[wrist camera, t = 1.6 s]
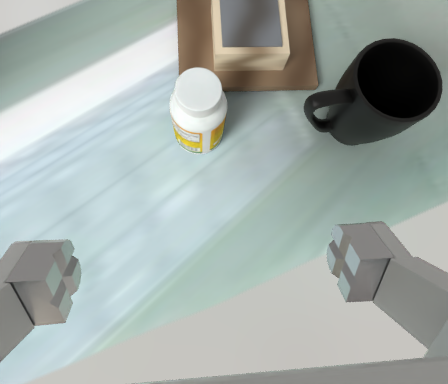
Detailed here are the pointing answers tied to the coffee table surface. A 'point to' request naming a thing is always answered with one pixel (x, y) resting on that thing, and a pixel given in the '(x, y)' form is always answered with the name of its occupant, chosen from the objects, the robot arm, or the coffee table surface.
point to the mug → (379, 93)
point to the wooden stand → (249, 43)
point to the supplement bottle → (198, 110)
